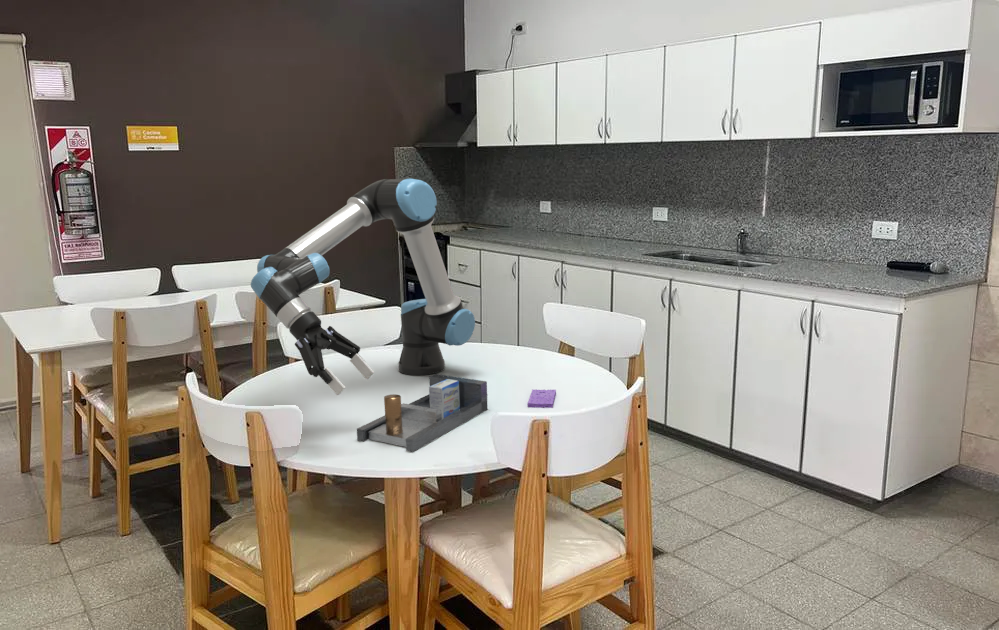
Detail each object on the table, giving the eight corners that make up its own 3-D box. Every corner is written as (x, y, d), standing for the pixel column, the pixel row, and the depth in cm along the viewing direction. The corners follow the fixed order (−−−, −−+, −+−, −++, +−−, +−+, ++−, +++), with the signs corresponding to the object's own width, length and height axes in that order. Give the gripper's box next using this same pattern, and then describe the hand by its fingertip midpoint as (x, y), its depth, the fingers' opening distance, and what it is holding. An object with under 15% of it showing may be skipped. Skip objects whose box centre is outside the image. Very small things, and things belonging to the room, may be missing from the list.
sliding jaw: (369, 439, 186) (366, 396, 184) (404, 421, 198) (402, 381, 196) (408, 447, 180) (406, 403, 178) (442, 428, 192) (440, 387, 190)
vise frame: (357, 440, 186) (355, 409, 184) (436, 401, 215) (435, 373, 213) (413, 452, 178) (411, 419, 176) (487, 409, 206) (486, 381, 205)
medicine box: (443, 419, 199) (442, 388, 197) (429, 417, 202) (428, 385, 200) (460, 411, 206) (459, 380, 204) (447, 408, 208) (446, 378, 206)
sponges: (556, 395, 218) (556, 389, 218) (552, 409, 206) (552, 403, 206) (532, 395, 220) (532, 388, 219) (527, 409, 207) (527, 402, 207)
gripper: (320, 319, 200) (373, 378, 198) (260, 341, 177) (319, 408, 175) (336, 301, 197) (390, 360, 195) (277, 320, 174) (337, 388, 172)
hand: (356, 383), depth 185 cm, fingers open, 13 cm apart
